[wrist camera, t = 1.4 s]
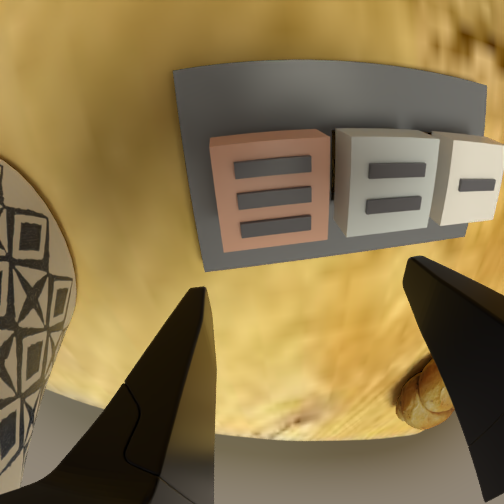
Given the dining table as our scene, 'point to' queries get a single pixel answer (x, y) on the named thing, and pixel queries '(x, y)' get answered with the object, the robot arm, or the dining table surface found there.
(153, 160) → the dining table surface
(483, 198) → the tile
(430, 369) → the bread roll
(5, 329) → the planter
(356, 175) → the tile
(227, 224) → the slotted block
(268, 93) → the board
